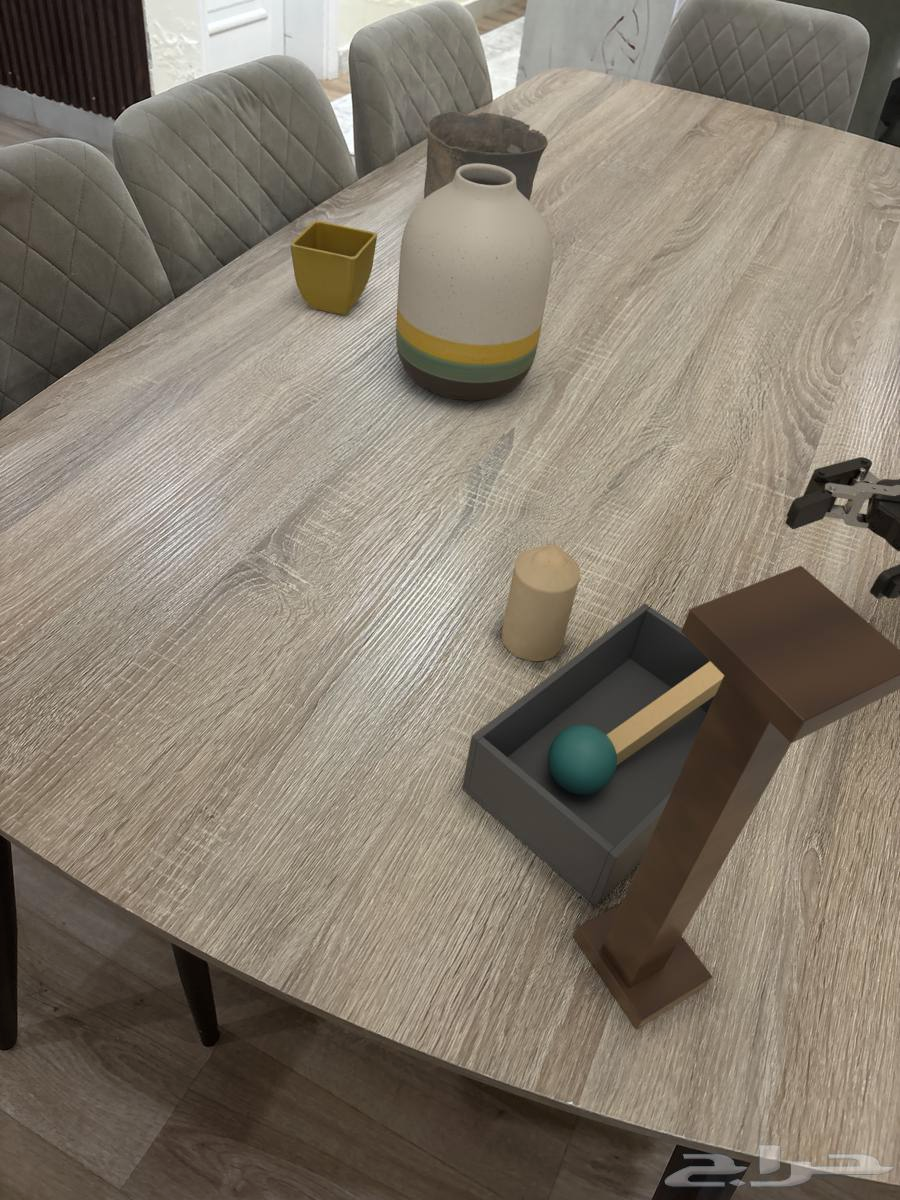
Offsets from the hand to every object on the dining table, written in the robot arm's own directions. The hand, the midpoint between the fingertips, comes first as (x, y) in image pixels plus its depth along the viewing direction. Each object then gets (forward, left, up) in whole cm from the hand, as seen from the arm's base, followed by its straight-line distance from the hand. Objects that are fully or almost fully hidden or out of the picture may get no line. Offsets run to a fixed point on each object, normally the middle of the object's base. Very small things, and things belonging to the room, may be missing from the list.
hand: (833, 550), depth 69 cm
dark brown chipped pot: (+81, -49, -17) cm, 96 cm away
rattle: (+4, +13, -14) cm, 20 cm away
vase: (+53, -17, -17) cm, 58 cm away
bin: (+4, +15, -17) cm, 23 cm away
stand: (-7, +27, -17) cm, 33 cm away
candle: (+18, +10, -17) cm, 27 cm away
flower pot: (+76, -16, -17) cm, 79 cm away
